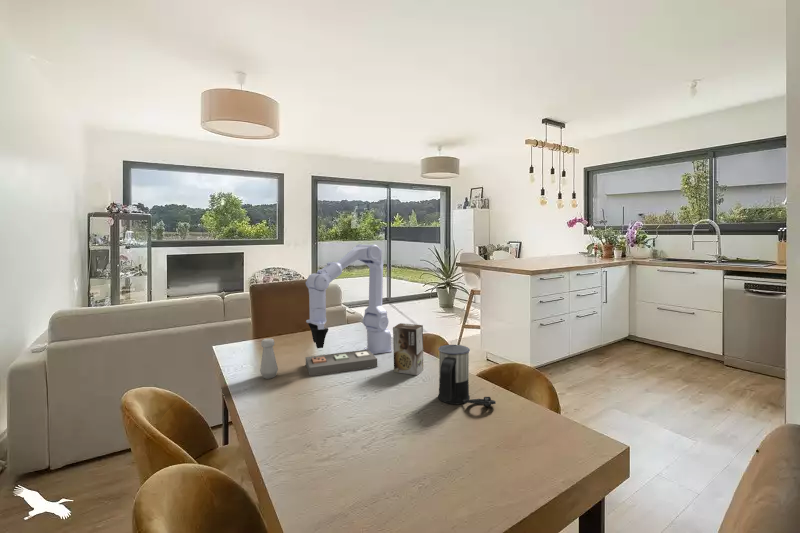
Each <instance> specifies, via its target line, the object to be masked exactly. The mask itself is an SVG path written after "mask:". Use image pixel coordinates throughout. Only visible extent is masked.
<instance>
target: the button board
mask: <svg viewBox="0 0 800 533" xmlns="http://www.w3.org/2000/svg"><path fill="white" fill-rule="evenodd" d="M364 351H367V352H368V354H369V355H370V357H362V358H357V357H356V356H355V353H356V352H364ZM340 354H346V355H347V356H348V359H346V360H339V361H335V359H334V355H340ZM316 357H325V359H326V362H323V363H315V364H313V363H312V358H316ZM305 367H306V369H307V372H308V375H309V377H315V376H320V375H328V374H329V375H330V374H335V373H342V372H343V373H344V372H351V371H357V370H364V369H365V370H366V369H373V368H377V367H378V357H377V356H375V354H372V353H371V352H370V351H369V350H365V349H362V350H361V349H360V350H352V351H343V352H336V353H335V352H334V353H328V354H321V355H311V356H305ZM372 367H373V368H372Z"/></svg>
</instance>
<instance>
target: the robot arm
mask: <svg viewBox="0 0 800 533" xmlns="http://www.w3.org/2000/svg"><path fill="white" fill-rule="evenodd" d="M382 254H383V250H382V248H380V247H379V245H377V244H362V243H359V244H356V246H353V247H352V249H351V250H350V251H349V252H347V253H346V254H345V255H343V257H341V258H340V259H338V261H328V262H327V263H326V264H327V265H325V266H324V267H323V268H321V269H320V268H319V269H318V270H317V272H315V273H310V274H309V275H308V276H307V279H306V280H305V286H306V288H307V289H308V295H309V296H308V297H309V298H308V300H309V303H308V304H309V319H306V321H305V322H306V323H307V325H308V327H309V329H310V332H311V336H312V342H313V343H315V346H316V349H323V348H324V345H325V340H326V335H327V334H328V331H329V327H325V324H326V323H327V298H326V296H327V294H326V290H327V289H328V288H329V286H330V283H332V282H333V281H335V279H337V278H338V277H339V276H341V275H342V273H343V270H344V269H345V268H347V267H348V266H350V265H352V264H353V263H355V262H356V261H360V262H362V263H364V264H365V265H366V266H367V267H368V268H369V269H368V270H369V276H368V277H369V278H368V280H369V282H368V283H369V284H368V285H369V286H368V306H367V307H365V309H364V315H363V317H362V324H363V326H364V327H365V329H366V341H367V342H366V346H367V347H365V348H364V349H363V350H369V351H370V352H371V353H372V354H373V355H375V354H384V353H391V352H392V351H393V350H392V334H391V330H390V329H389V328H388V325H389V318H388V312H387V310H386V309H385V307H383V287H384V286H383V285H384V284H383V283H384V261H383V257H382Z"/></svg>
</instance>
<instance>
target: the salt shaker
mask: <svg viewBox="0 0 800 533" xmlns="http://www.w3.org/2000/svg"><path fill="white" fill-rule="evenodd" d="M260 346H261V347H262V353H261V362H260V370H259V371H260V375H261V377H262V378H263V379H265V380H268V379H273V378H275V377H276V376H277V374H278V371H279V367H278V364H277V363H278V362H277V359H276V354H275V351H274V346H275V339H273V338H270V337H269V338H264V339H262V340H261V342H260Z"/></svg>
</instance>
